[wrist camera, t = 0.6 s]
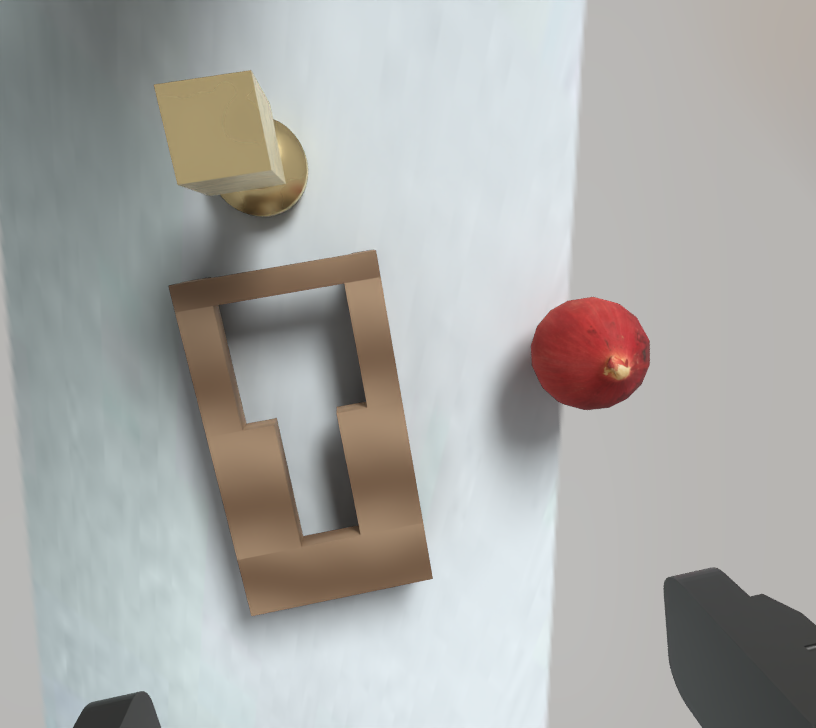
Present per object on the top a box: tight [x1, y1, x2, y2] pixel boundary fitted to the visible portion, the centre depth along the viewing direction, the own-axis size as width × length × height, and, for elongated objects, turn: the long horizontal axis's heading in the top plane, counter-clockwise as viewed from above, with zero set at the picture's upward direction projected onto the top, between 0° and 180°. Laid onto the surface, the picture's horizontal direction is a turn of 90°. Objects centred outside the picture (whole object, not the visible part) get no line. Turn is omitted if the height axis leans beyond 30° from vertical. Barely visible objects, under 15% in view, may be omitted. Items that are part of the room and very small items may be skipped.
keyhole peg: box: [154, 70, 308, 217], centre depth 25 cm, size 5×5×11 cm
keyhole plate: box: [169, 250, 433, 616], centre depth 32 cm, size 18×10×4 cm, turn 9°
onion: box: [531, 297, 650, 410], centre depth 30 cm, size 6×6×8 cm
